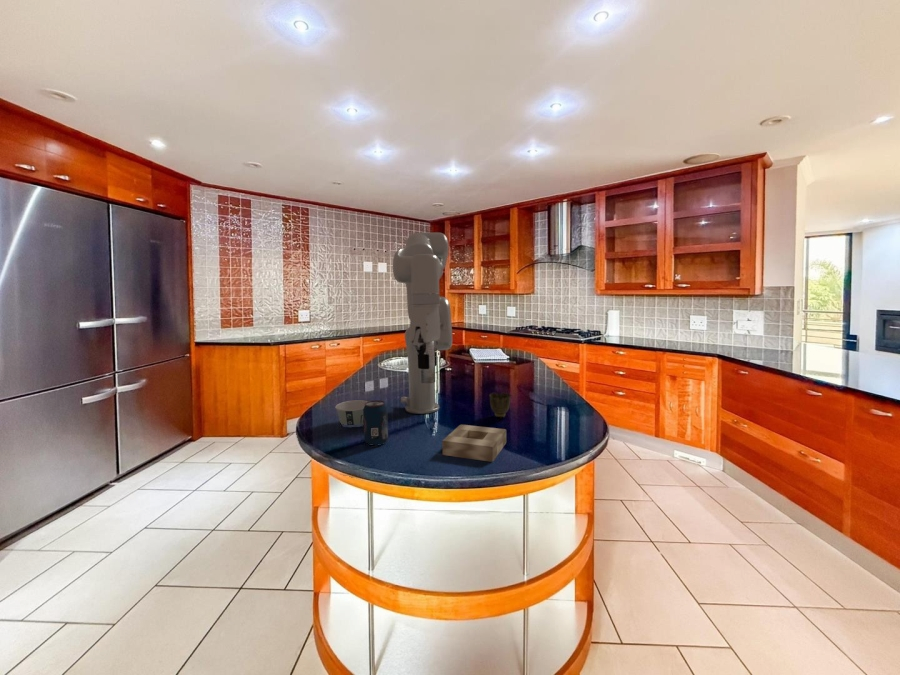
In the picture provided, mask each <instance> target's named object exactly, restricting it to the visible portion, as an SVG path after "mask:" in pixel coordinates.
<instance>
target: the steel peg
mask: <svg viewBox="0 0 900 675" xmlns="http://www.w3.org/2000/svg"><path fill="white" fill-rule="evenodd" d="M420 343H424V341H423V340H421V342H420ZM423 347H424V345H423ZM428 354H429V367H430V368H429V369H420V370H421V383H426V384H428V383H434V384H435V383H436V366H435V352H434V341H432V342H430V343H428Z"/></svg>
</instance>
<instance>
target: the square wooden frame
mask: <svg viewBox="0 0 900 675" xmlns="http://www.w3.org/2000/svg"><path fill="white" fill-rule="evenodd" d="M506 444H507V429H505V428H496V427H487V426H477V425H470V424H469V425H468V424H459V425H458V426H457V427H456V428H455V429H454V430H452V431H451V432H450V433H449V434H448V435H447V436H446V437H445V438H444V439H442V444H441V446H442V455H443V456H448V457H449V456H450V457H455V458H462V459H468V460H469V459H470V460H476V461H477V460H478V461H484V462H489V463H493V462H494V461H495V460H496V458H497V456H498V455H499V454H500V453H501V452H502V450H503V448H504V447H505V445H506Z"/></svg>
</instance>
